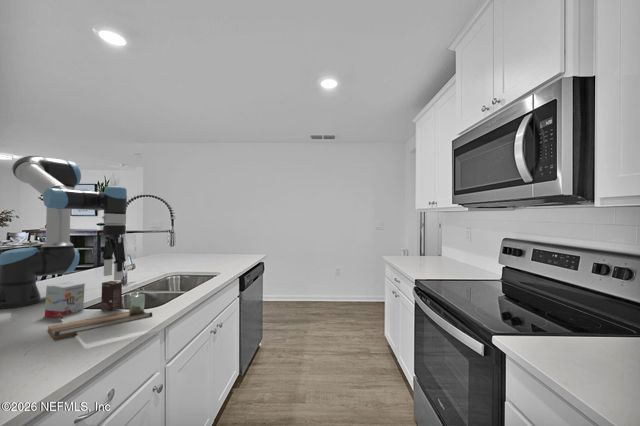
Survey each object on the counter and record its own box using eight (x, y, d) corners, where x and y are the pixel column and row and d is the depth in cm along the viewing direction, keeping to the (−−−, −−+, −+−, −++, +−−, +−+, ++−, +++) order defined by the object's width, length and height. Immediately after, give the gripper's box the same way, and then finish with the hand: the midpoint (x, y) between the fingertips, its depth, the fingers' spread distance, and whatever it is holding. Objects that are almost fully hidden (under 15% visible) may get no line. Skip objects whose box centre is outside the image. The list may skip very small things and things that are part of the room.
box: (99, 313, 121) (101, 282, 121) (110, 309, 125) (112, 280, 125) (111, 314, 119) (112, 283, 119) (121, 311, 123) (123, 281, 124)
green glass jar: (127, 313, 117) (127, 295, 117) (141, 310, 121) (142, 293, 121) (131, 316, 114) (132, 297, 114) (146, 313, 118) (146, 295, 118)
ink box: (62, 318, 113) (63, 286, 113) (43, 316, 115) (45, 285, 115) (84, 312, 122) (85, 282, 122) (66, 310, 123) (68, 281, 124)
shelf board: (48, 330, 102) (48, 322, 102) (140, 312, 123) (140, 306, 123) (55, 340, 94) (55, 332, 94) (152, 319, 115) (152, 312, 115)
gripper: (94, 224, 128) (93, 274, 128) (113, 225, 112) (111, 283, 111) (115, 224, 134) (113, 272, 133) (136, 225, 118) (134, 280, 117)
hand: (112, 277), depth 122 cm, fingers open, 13 cm apart
